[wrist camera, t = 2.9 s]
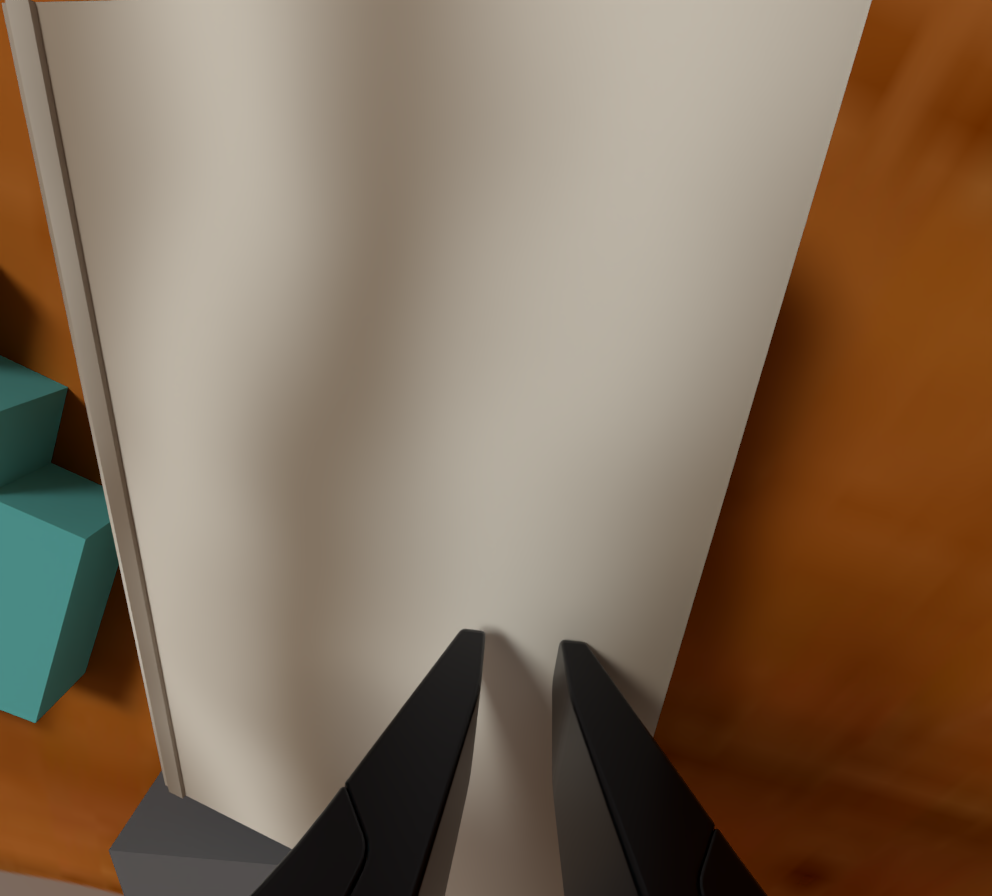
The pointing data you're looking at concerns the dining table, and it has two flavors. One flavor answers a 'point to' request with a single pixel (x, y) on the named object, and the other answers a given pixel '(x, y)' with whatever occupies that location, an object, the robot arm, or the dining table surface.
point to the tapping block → (190, 850)
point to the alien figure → (45, 550)
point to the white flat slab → (417, 353)
